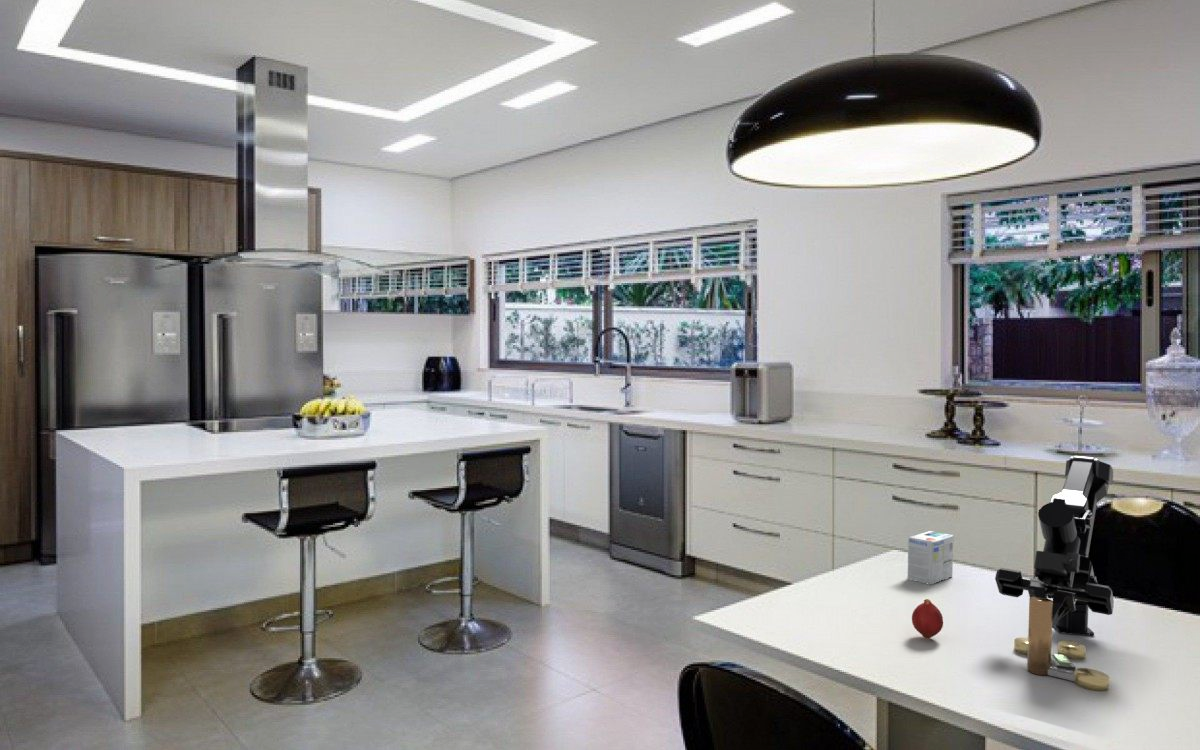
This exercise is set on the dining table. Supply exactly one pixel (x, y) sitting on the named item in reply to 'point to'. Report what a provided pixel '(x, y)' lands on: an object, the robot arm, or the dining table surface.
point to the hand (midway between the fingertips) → (1045, 631)
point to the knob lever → (1042, 649)
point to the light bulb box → (930, 557)
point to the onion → (927, 619)
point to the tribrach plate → (1064, 652)
